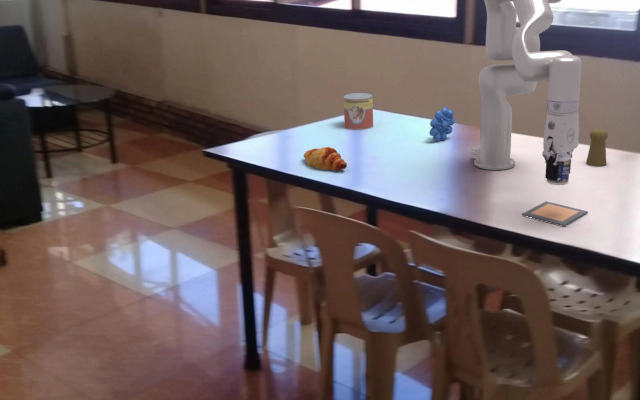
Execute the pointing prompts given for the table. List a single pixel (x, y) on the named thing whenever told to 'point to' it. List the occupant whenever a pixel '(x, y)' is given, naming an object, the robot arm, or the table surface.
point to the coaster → (555, 213)
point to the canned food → (358, 111)
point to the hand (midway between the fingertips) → (557, 175)
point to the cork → (597, 148)
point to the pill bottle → (561, 170)
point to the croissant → (325, 159)
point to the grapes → (442, 124)
